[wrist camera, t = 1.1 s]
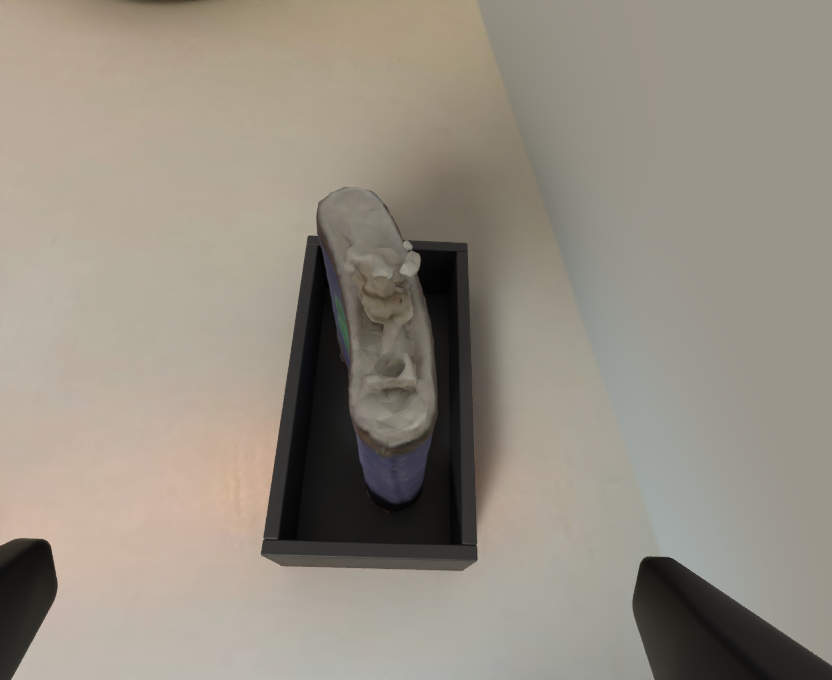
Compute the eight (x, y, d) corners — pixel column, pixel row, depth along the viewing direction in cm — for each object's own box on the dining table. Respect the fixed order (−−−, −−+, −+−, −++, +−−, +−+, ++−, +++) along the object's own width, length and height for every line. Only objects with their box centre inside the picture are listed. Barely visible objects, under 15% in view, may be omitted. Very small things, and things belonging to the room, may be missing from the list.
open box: (463, 570, 20) (477, 561, 17) (280, 565, 20) (260, 555, 17) (457, 289, 26) (467, 242, 23) (317, 282, 26) (307, 235, 23)
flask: (332, 322, 25) (301, 141, 16) (393, 312, 25) (399, 130, 16) (368, 521, 21) (355, 441, 11) (440, 505, 21) (485, 415, 12)
